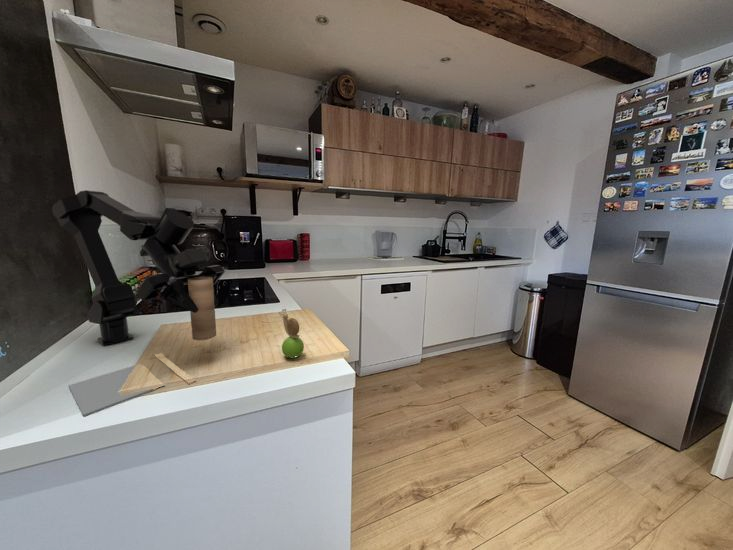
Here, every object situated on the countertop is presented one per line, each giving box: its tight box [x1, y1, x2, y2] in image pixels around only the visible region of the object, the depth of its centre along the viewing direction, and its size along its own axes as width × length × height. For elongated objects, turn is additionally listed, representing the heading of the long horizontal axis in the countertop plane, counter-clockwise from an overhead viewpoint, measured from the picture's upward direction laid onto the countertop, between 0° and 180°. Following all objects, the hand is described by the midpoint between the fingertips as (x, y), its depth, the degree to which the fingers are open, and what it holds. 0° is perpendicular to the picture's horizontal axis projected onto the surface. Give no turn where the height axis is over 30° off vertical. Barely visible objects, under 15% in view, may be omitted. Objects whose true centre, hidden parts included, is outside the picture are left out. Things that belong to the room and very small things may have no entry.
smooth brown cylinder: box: [187, 277, 217, 341], centre depth 66 cm, size 5×5×14 cm
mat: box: [68, 364, 155, 418], centre depth 57 cm, size 14×12×1 cm
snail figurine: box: [281, 308, 305, 358], centre depth 71 cm, size 5×6×12 cm
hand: (206, 308), depth 66 cm, fingers closed on smooth brown cylinder, 5 cm apart
